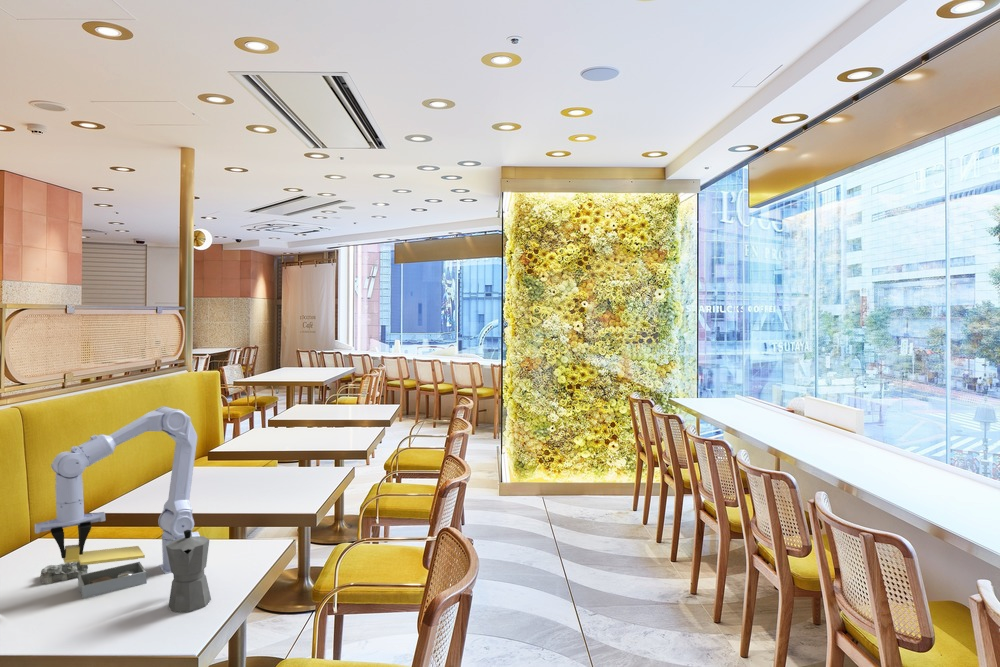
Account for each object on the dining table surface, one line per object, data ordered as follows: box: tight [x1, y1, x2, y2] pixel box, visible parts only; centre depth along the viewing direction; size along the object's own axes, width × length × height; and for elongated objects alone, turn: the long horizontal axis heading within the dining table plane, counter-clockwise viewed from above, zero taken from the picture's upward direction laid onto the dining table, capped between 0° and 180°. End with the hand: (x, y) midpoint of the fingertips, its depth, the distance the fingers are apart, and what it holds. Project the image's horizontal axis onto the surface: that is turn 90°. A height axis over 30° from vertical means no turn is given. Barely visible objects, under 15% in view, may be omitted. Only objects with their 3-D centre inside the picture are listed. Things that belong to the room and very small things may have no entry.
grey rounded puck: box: [118, 571, 134, 577], centre depth 172 cm, size 4×4×2 cm
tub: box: [77, 561, 148, 600], centre depth 170 cm, size 14×9×4 cm, turn 128°
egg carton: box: [39, 562, 89, 585], centre depth 176 cm, size 11×8×4 cm
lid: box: [62, 544, 145, 565], centre depth 168 cm, size 17×9×4 cm, turn 128°
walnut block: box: [90, 576, 112, 584], centre depth 168 cm, size 4×3×2 cm
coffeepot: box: [166, 530, 212, 614], centre depth 159 cm, size 15×9×18 cm, turn 25°
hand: (72, 555), depth 164 cm, fingers closed on lid, 3 cm apart
